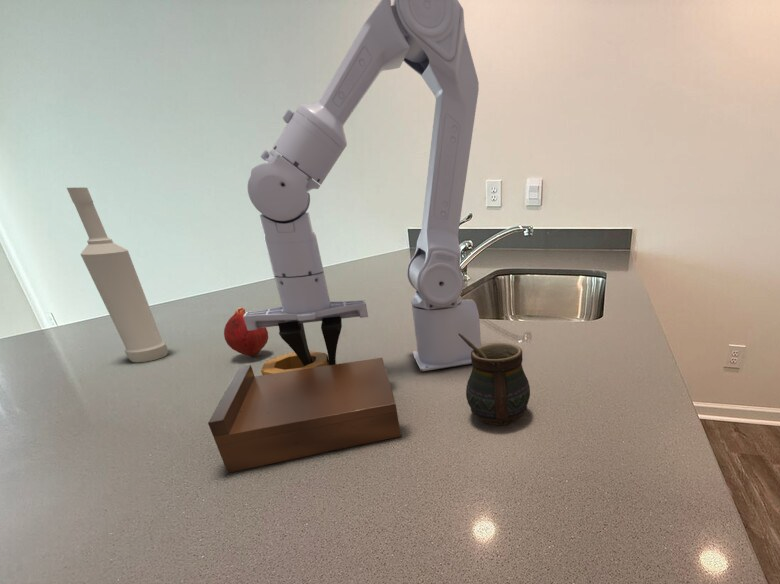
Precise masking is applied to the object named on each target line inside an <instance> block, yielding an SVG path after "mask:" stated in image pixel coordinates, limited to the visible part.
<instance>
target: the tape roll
mask: <svg viewBox="0 0 780 584" xmlns="http://www.w3.org/2000/svg"><path fill="white" fill-rule="evenodd" d="M309 352H310V355H311V358H312V361H313V363H311V364H309V365H306V366H304V365H303V364H302V362H301V360H300V359H299V357H298V356H297V355H296V353H295V352H289V353H287V354H281V355H279V356H276V357H274V358H271V359H269V360H266V361H265V362H264V363H262V368H261V370H260V372H261V375H267V374H274V373H281V372H288V371H294V370H301V369H308V368H315V367H321V366H328V365H329V359H328V353H326V352H321V351H315V350H309Z"/></svg>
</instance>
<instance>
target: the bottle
mask: <svg viewBox="0 0 780 584" xmlns="http://www.w3.org/2000/svg"><path fill="white" fill-rule="evenodd" d="M66 190H67V192H68V194H69V197H70V199H71V202H72V204H74V206H75V209H76V212H77V214H78V216H79V218H80V220H81V223H82V225H83V227H84V230H85V232H86V234H87V237H88V239H87V241H86V243H87V245H86V247H85V248H84V249H83V250H82V252H81V253H80V257H81V259H82V260H83V263H84V265H85V266H86V269H87V271H88V273H89V275H90V277H91V279H92V281H93V284H94V286H95V288H96V289H97V291H98V294H99V296H100V298H101V300H102V302H103V304H104V307H105V308H106V310H107V312H108V314H109V317H110V318H111V321H112V322H113V325H114V327H115V329H116V331H117V333H118V335H119V337H120V339H121V341H122V343H123V346H124V347H125V349H124V353H125V355H126V357H127V358H128V360H129V361H130V362H132V363H145V362H146V363H147V362H151V361H156V360H160V359H162V358H164V357H166V356H167V355H168V354H169V349H168V346H167V344H166V342H164V341H163V338H162V337H161V333H160V331H159V328H158V326H157V323H156V320H155V318H154V315H153V313H152V310H151V308H150V305H149V302H148V300H147V297H146V295H145V292H144V289H143V287H142V284H141V281H140V279H139V276H138V273H137V271H136V268H135V265H134V262H133V260H132V258H131V255H130V252H129V250H128V249H126V248H125V247H123V246H121V245H119V244H117V243H115V242H114V240H113V239H112V238H110V237H108V234H107V232H106V230H105V227H104V226H103V225H104V224H103V223H102V221H101V218H100V216H99V213H98V211H97V209H96V206H95V204H94V200H93V198H92V196H91V193H90V191H89V189H88V187H66Z"/></svg>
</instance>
